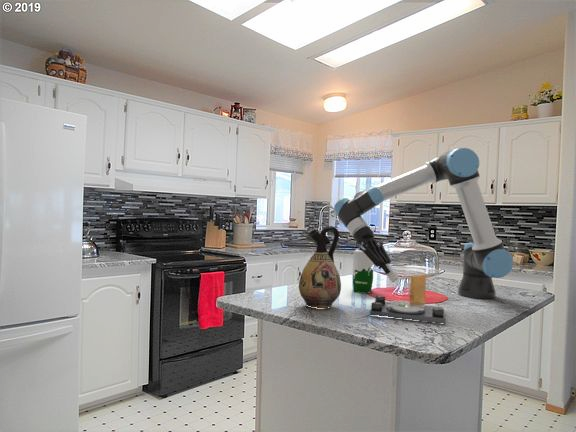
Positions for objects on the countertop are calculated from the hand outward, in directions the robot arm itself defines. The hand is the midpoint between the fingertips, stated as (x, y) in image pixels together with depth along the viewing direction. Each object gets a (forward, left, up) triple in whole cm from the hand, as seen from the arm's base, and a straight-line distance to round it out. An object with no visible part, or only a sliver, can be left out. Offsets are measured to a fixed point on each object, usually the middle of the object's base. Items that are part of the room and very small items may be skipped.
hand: (395, 279), depth 162 cm
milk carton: (+16, -28, -11) cm, 34 cm away
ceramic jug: (+26, +9, -11) cm, 29 cm away
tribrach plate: (-5, +7, -11) cm, 14 cm away
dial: (-6, +6, -9) cm, 12 cm away
